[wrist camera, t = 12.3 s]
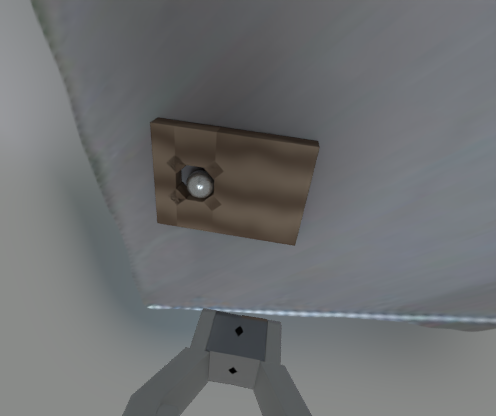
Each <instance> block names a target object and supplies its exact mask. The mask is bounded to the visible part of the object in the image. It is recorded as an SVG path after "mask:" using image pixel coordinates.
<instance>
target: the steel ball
mask: <svg viewBox="0 0 496 416" xmlns="http://www.w3.org/2000/svg"><path fill="white" fill-rule="evenodd" d="M187 189H188V191H189V193H190V194H191V195H193V196H194V197H197V198H205V197H207V196H209V195H210V194H211V193H212V191H213V190H214V179H213V178H212V177H211V176H210V175H209V173H208V172H206V171H202V170H199V171H195V172H193V173H192V174H190V176H189V177H188V179H187Z"/></svg>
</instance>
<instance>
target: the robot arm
mask: <svg viewBox="0 0 496 416" xmlns="http://www.w3.org/2000/svg"><path fill="white" fill-rule="evenodd" d="M280 362H281V322H278V321H272V320H267V319H263V318H256V317H249V316H244V315H242V316H241V315H236V314H230V313H226V312H221V311H216V310H211V309H205V308H203V310H202V312H201V315H200V318H199V321H198V324H197V327H196V330H195V334H194V337H193V340H192V343H191V346H190V348H187V347H186V348H185V349H184V350H183V351H181V352H180V353H179V354H178V355H177V356H176V357H175V358H174V359H172V360H171V361H170V362H169V363H168V364H167V365H166V366H164V367H163V368H162V369H161V370H160V371H159V372H158V373H156V374H155V375H154V376H153V377H152V378H151V379H150V380H149V381H148V382H146V383H145V384H144V385H143V386H142V387H141V388H140V389H139V390H137V391H136V392H135V393H134V394H133V395H132V396H131V398H130V400H129V402H128V404H127V406H126V409H125V411H124V413H123V415H122V416H180V415H181V414H182V412H183V411H184V410H185V409H186V407H187V406H188V405H189V404H190V403H191V402H192V400H193V399H194V398H195V397H196V396H197V394H198V393H199V392H200V391H201V390H202V389H203V387H204V386H205V385H206V384H207V382H208V381H213V382H219V383H225V384H231V385H236V386H240V387H245V388H250V389H254V393H255V396H256V399H257V401H258V404H259V407H260V410H261V412H262V415H263V416H312V415H311V413H310V411H309V409H308V408H307V406H306V404H305V402H304V400H303V399H302V397H301V395H300V393H299V391H298V389H297V388H296V386H295V384H294V382H293V380H292V379H291V377H290V375H289V373H288V371H287V369H286V367H285V366H284V365H280Z"/></svg>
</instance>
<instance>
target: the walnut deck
mask: <svg viewBox="0 0 496 416" xmlns="http://www.w3.org/2000/svg"><path fill="white" fill-rule="evenodd" d="M150 127H151V140H152V154H153V168H154V182H155V195H156V209H157V223H160V224H166V225H172V226H178V227H185V228H191V229H197V230H203V231H209V232H215V233H221V234H227V235H233V236H239V237H245V238H251V239H257V240H263V241H270V242H276V243H282V244H288V245H294V246H295V244H296V240H297V236H298V232H299V228H300V224H301V220H302V216H303V212H304V208H305V204H306V200H307V196H308V192H309V188H310V184H311V180H312V176H313V172H314V168H315V164H316V160H317V156H318V152H319V148H320V147H319V143H318V141H314V140H307V139H301V138H294V137H287V136H280V135H273V134H266V133H259V132H253V131H246V130H239V129H232V128H225V127H218V126H211V125H204V124H198V123H191V122H184V121H177V120H170V119H163V118H157V119H155V120H153V121H152V122H150ZM186 165H190V166H196V167H203V168H204V169H205V170H206V171H207V172H208V173H209V175H210V176H211V177H212V178H213V179H214V190H213V191H212V193H211V194H210V195H209V196H207V197H205V198H197V197H194V196H193V195H191V194H190V193H189V191H188V189H187V186H186V185H185V184H184V183H183V182H182V179H181V169H182V168H184V167H185V166H186Z"/></svg>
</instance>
